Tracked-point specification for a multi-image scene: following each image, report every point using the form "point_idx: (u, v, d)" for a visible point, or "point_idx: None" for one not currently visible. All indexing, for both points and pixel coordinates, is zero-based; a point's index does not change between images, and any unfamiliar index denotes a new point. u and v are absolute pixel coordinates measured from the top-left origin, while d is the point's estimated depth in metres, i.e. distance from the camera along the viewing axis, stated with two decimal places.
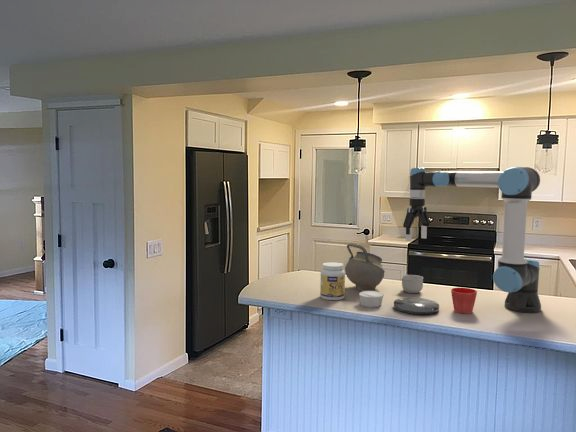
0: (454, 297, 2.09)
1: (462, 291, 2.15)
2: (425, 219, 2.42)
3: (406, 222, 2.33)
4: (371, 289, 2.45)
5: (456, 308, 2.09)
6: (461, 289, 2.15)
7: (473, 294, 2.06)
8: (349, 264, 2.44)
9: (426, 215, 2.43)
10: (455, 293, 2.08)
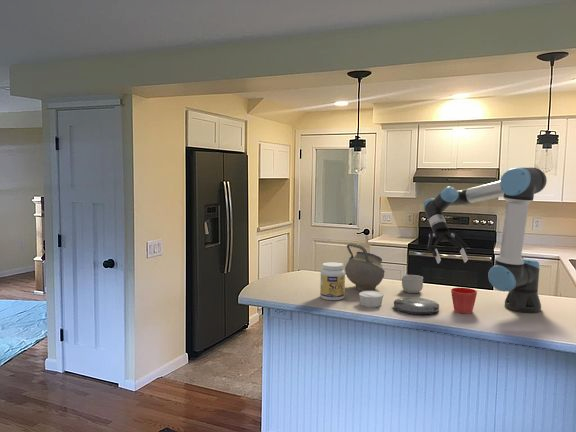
0: (454, 297, 2.09)
1: (462, 291, 2.15)
2: (458, 242, 2.26)
3: (428, 245, 2.24)
4: (371, 289, 2.45)
5: (456, 308, 2.09)
6: (461, 289, 2.15)
7: (473, 294, 2.06)
8: (349, 264, 2.44)
9: (459, 238, 2.27)
10: (455, 293, 2.08)
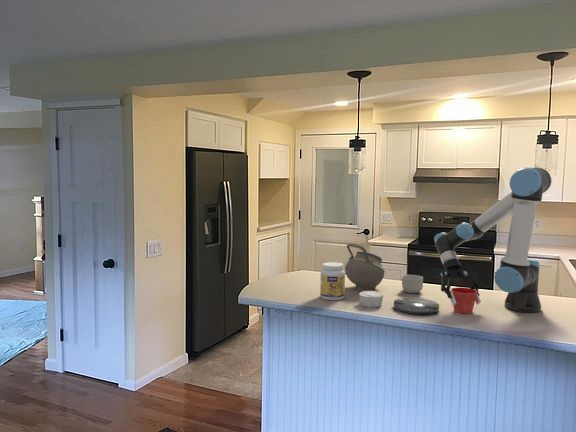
0: None
1: (462, 291, 2.15)
2: (471, 282, 2.14)
3: (442, 285, 2.12)
4: (371, 289, 2.45)
5: (456, 307, 2.09)
6: (461, 289, 2.15)
7: (473, 294, 2.06)
8: (349, 264, 2.44)
9: (471, 278, 2.16)
10: (455, 293, 2.08)
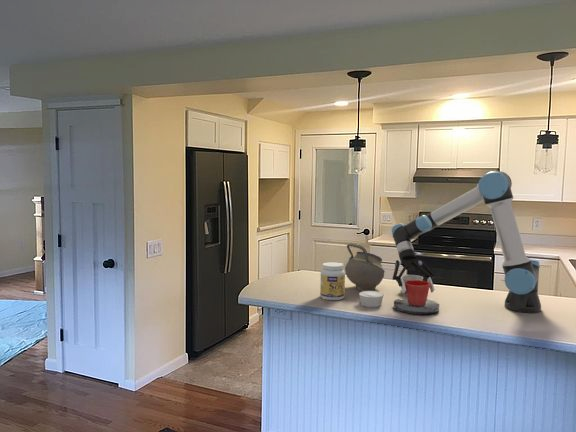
0: (407, 289, 2.12)
1: (416, 284, 2.18)
2: (425, 270, 2.18)
3: (394, 274, 2.15)
4: (371, 289, 2.45)
5: (409, 300, 2.12)
6: (415, 282, 2.18)
7: (425, 286, 2.09)
8: (349, 264, 2.44)
9: (426, 267, 2.19)
10: (408, 285, 2.11)
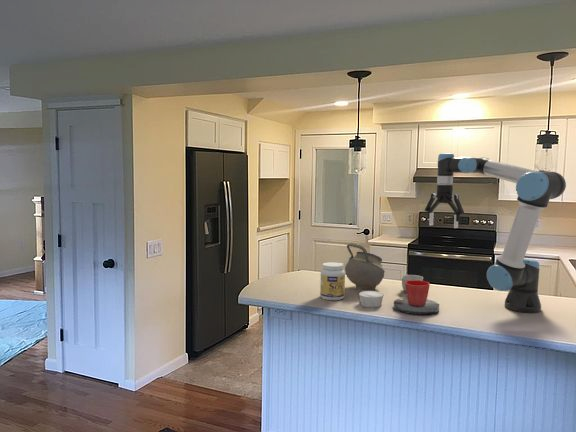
0: (407, 289, 2.12)
1: (416, 284, 2.18)
2: (454, 207, 2.30)
3: None
4: (371, 289, 2.45)
5: (409, 300, 2.12)
6: (415, 282, 2.18)
7: (425, 286, 2.09)
8: (349, 264, 2.44)
9: (456, 203, 2.29)
10: (408, 285, 2.11)
